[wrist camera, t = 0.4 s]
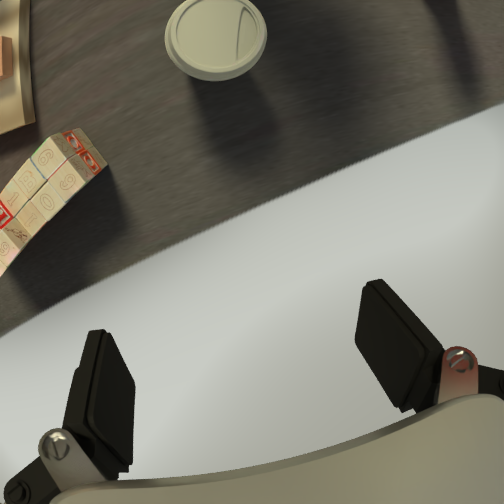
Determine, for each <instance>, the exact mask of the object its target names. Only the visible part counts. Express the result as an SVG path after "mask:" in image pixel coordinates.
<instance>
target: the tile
mask: <svg viewBox="0 0 504 504" xmlns="http://www.w3.org/2000/svg"><path fill="white" fill-rule="evenodd" d="M10 76H13V67H12V38H9V37H5V36H0V81H2V80H4V79H6V78H8V77H10Z"/></svg>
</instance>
